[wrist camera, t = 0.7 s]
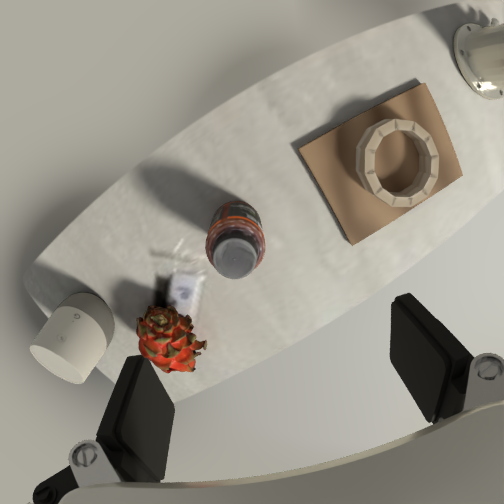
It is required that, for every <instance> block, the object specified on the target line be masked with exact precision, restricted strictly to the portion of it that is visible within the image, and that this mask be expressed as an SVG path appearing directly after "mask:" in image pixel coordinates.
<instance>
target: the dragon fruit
mask: <svg viewBox="0 0 504 504" xmlns="http://www.w3.org/2000/svg"><path fill="white" fill-rule="evenodd" d="M191 322H192V319H191V318H190V316H189V315H186V317H178V312H177V311H176V309H175V308H174V307H173V306H171V305H169V306H168V307H166V308H163V307H157V306H156V305H155V306H148V309H147V311H146V312H145V313H144V316H143V318H141V317H140V318H137V330H136V332H137V336H139V338H140V340H139V350H140V352H141V354H142V356H144V358H148V359H149V360H150V361H152V362H153V363H154V364H155V365H156V366H157V367H159V368H160V369H161V370H162V371H163V372H166V373H170V372H171V371H180V372H185V371H188V372H193V371H194V370H195V369H196V368H194V366H195V362H196V361H195V359H194V358H195V357H196V356H198V355H201V352H197V353H196V351H195V350H199V349H201V348H202V347H203V349H204V350H206V347H207V341H206V340H205V341H202V342H199V341H197V340H195V339H196V335H195V334H193V333H191V331H192V329H193V328H194V326H193V325H192V324H191Z"/></svg>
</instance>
